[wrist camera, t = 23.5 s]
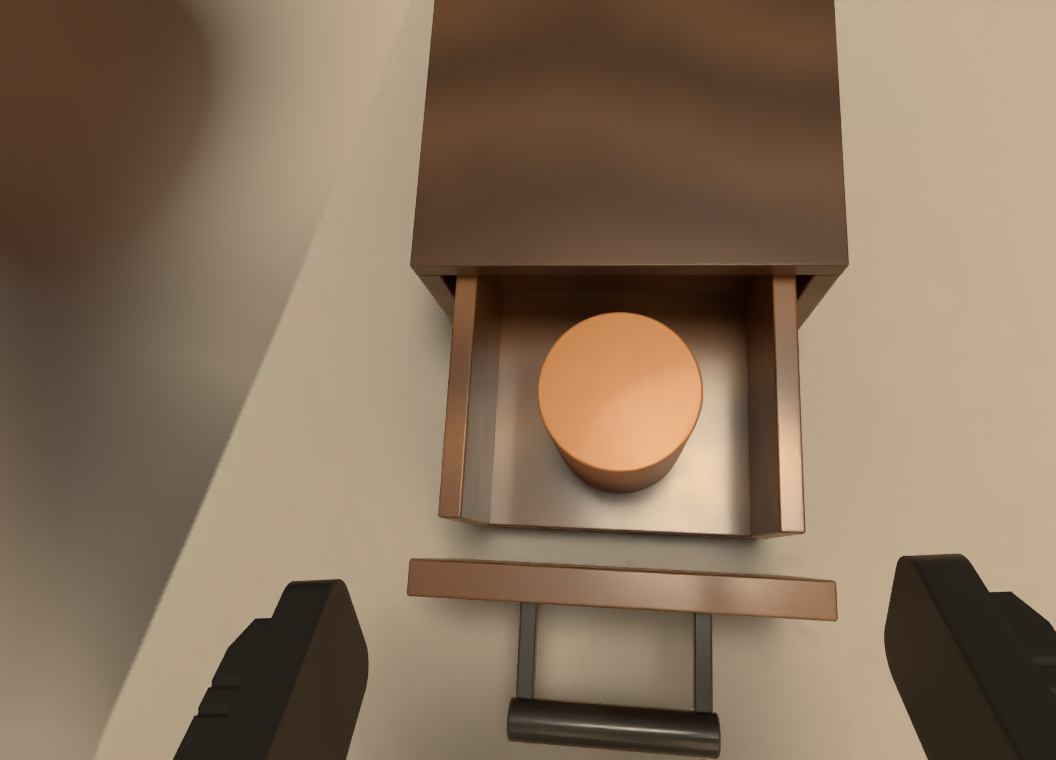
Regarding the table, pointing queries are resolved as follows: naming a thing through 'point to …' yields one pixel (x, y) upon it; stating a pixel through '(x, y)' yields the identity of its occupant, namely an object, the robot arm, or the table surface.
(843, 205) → the cabinet
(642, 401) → the orange cylinder
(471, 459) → the drawer
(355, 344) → the table surface
